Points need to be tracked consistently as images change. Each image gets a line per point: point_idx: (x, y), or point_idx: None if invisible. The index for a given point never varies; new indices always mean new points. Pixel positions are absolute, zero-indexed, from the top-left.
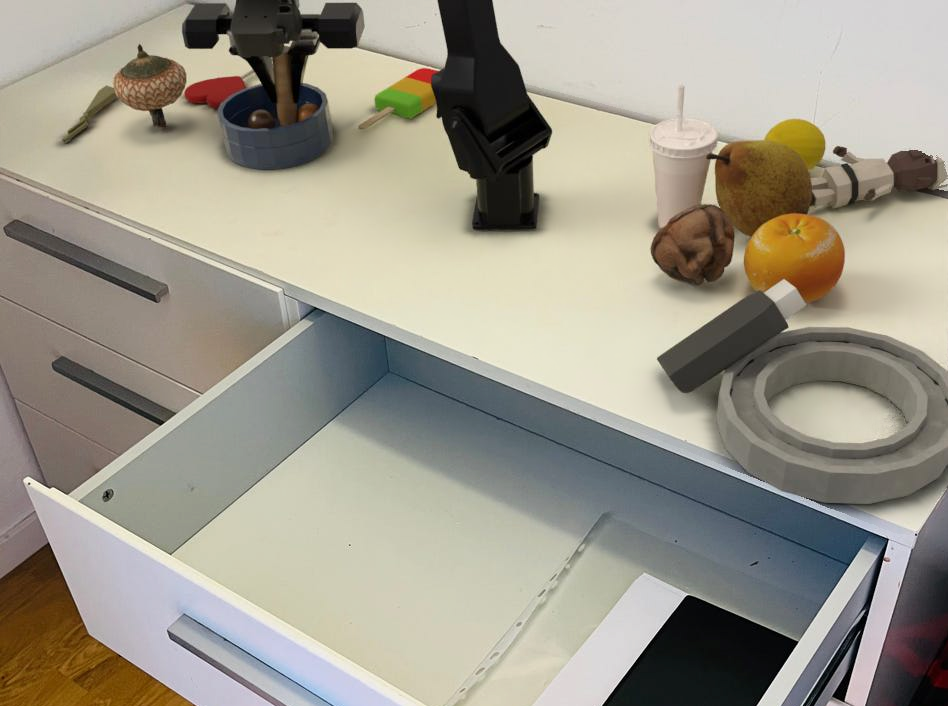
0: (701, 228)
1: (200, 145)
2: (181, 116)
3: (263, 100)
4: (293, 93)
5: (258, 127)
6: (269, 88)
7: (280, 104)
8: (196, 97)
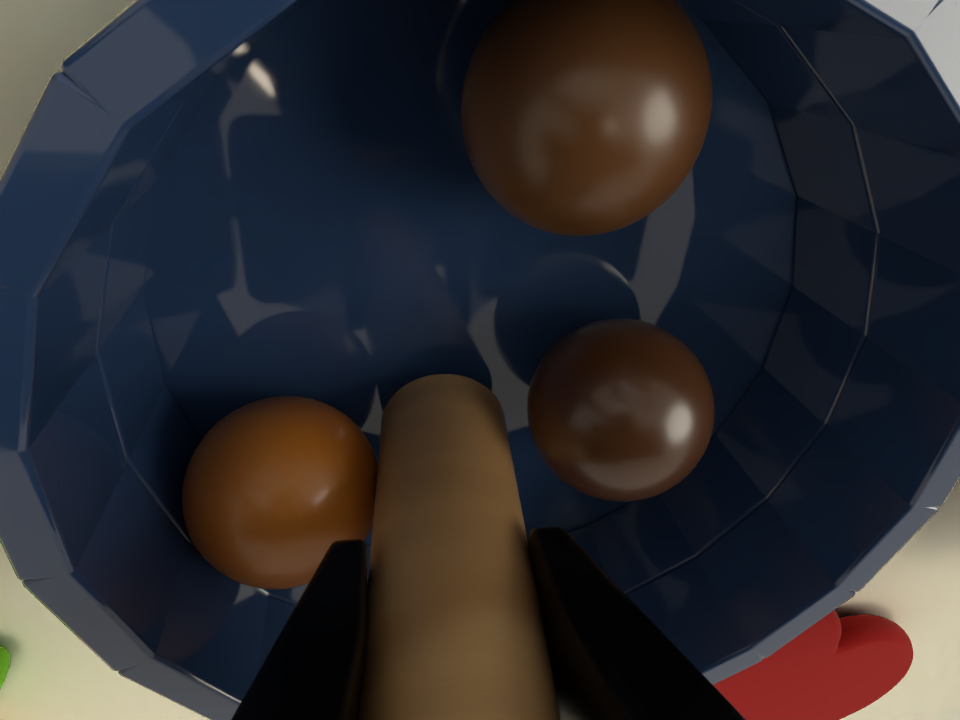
0: None
1: None
2: (935, 535)
3: None
4: (349, 612)
5: (641, 337)
6: (606, 636)
7: (489, 518)
8: (879, 634)
